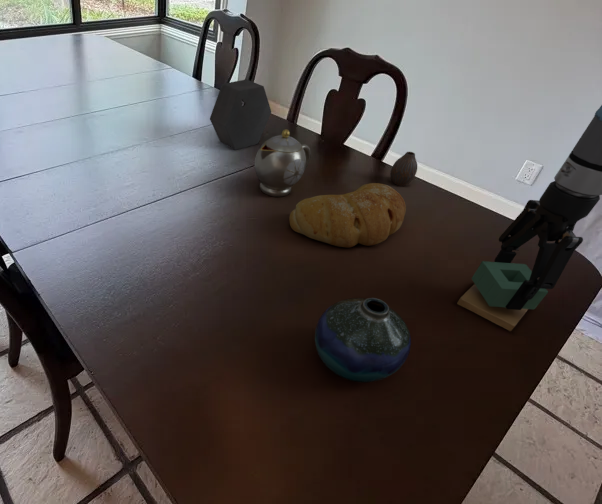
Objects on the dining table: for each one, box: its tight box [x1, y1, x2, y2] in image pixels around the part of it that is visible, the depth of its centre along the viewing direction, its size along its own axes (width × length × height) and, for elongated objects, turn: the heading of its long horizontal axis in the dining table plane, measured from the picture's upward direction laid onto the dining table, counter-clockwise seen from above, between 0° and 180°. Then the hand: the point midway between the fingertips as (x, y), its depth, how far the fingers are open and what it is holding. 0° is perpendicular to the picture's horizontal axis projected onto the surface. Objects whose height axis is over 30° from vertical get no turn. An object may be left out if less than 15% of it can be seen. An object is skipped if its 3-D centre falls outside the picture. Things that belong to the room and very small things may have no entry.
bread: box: [288, 182, 407, 248], centre depth 108 cm, size 32×20×10 cm, turn 116°
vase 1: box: [314, 297, 412, 383], centre depth 74 cm, size 15×15×13 cm
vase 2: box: [389, 151, 418, 187], centre depth 128 cm, size 7×7×9 cm
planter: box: [209, 79, 272, 151], centre depth 139 cm, size 17×8×21 cm
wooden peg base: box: [456, 283, 529, 332], centre depth 90 cm, size 11×11×5 cm
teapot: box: [254, 128, 312, 198], centre depth 118 cm, size 18×14×16 cm
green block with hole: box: [471, 260, 549, 310], centre depth 88 cm, size 9×9×4 cm
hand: (501, 292), depth 89 cm, fingers closed on green block with hole, 9 cm apart
